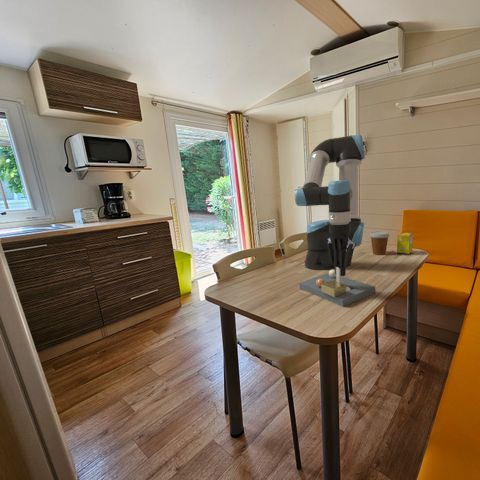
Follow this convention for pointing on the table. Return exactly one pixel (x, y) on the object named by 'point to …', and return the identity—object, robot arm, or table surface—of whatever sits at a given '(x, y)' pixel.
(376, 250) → the disposable coffee cup
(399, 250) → the supplement box
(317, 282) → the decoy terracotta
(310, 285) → the slate plate
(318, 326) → the table surface
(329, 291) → the brass cover
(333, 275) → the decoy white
